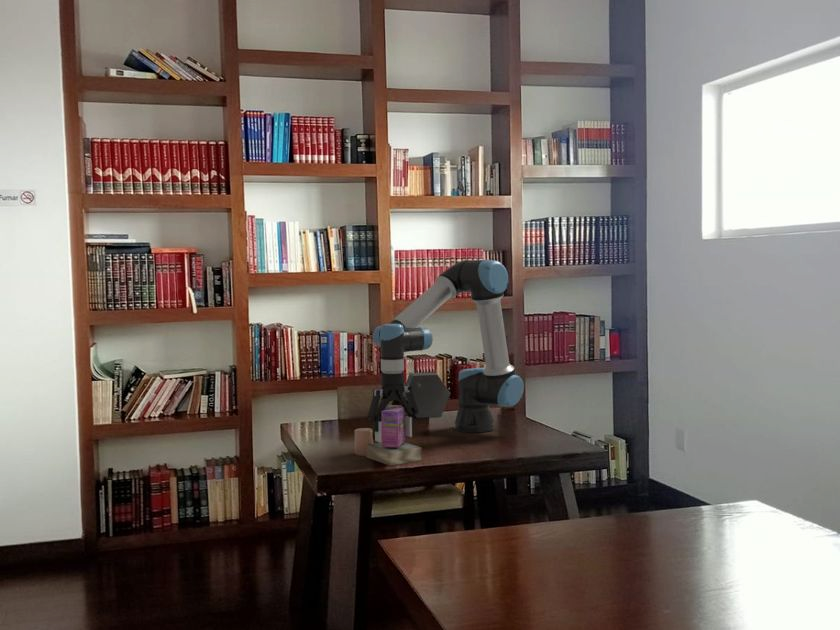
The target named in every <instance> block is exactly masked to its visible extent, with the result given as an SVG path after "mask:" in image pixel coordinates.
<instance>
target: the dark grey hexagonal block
mask: <svg viewBox="0 0 840 630" xmlns="http://www.w3.org/2000/svg"><path fill="white" fill-rule="evenodd" d="M419 384H420V386H419ZM406 385H408V386H412V393H413V396H414V399H415V402H416V405H417V408H418V411H419V413H418V414H415V418H416V419H421V418H422V419H423V418H424V419H425V418H439V417H440V418H441V417H442V416H443V414H444V410H445V408H446V407H447V403H448V401H449V399H450V396H451V392H450V391H449V389H448V388H447V386H446V385H445V384H444V382H443V380H442V379H441V378H440V376H439V374H437V373H436V372H432V371H431V372H409V374H408V376H407V379H406V382H405V383H404V386H406ZM403 396H404V397H405V398H407V397H406V394H405V391H404V392H403Z"/></svg>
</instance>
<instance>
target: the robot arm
mask: <svg viewBox="0 0 840 630" xmlns="http://www.w3.org/2000/svg"><path fill="white" fill-rule="evenodd" d="M508 284H509V273H508V271H507V269H506V267H505V266H504V264H503V263H501V262H500V261H498V260H493V259H492V260H491V259H476V260H475V259H474V260H473V259H472V260H470V259H469V260H468V259H467V260H466V259H465V260H461V261H459V262H457V263H455V264H453V265H451V266H450V267H448V268H446V269H445V270H444V271H443V272H442V273H441V274H439V275H438V276H437V277H436V278H435V280H434V283H433V284H432V285H431V286H430V287H429V288H428V289H426V290H425V291H424V292H423V293H422V294H420V296H418V297H417V298H416V299H415V300H414V301H413V302H412V303H410V304H409V305H408V306H407V307H406V308H405V309H403V310H402V311H401V312H400V313H399V314H398V315H397V316H396V317H395V318H393V319H392V320H390V322H389V323H385V324H381V325H379V326H376V327H375V329H374V330H373V333H372V340H373V342H374V344H375V345H376V346H377V347H380V350H379V351H380V371H381V374H380V383H381V388H380V389H373V390H372V399H371V402H370V407H369V410H368V413H367V417H366V420H369V421H372V429H373V432H374V441H375V442H376V443H381V442H382V428H381V411H384V410H385V408H386V407H387V406H388V404H389V403H390V402H393V401H394V400H398V401H399V403H400V404H401V406H403V407H404V409H405V412H406V414H407V415H408V416H405V437H407V438H408V437H409V438H412V437H413V427H414V418H416V416H415V414H418V413H419V411H418V408H417V405H416V402H415V399H414V396H413V393H412V386H408V385H406V386H405V372H404V371H405V359H404V358H405V353H408V352H409V353H410V352H418V351H420V352H421V351H425V350H429V349H430V348H431V347H432V345H433V334H432V332H431V330H430V329H429V328H427V327H419V326H420V325H422V323H423V322H424V321H425V320H427V319H428V318H429V317H430V316H431V315H433V313H434V312H436V311H437V310H438V309H439V308H440V307H441V306H443V304H444V303H446V302H447V301H448V300H452V299H455V298H456V296H459V294H463V293H464V294H465V293H470V299H471V301H472V302H473V303H475V305H476V309H477V315H478V321H479V329H480V335H481V336H480V337H481V342H482V348H483V355H484V356H483V357H484V361H485V362H484V363H485V367H473V368H466V369H465V368H464V369H462V370H460V371H459V372H458V380H457V383H458V384H457V385H458V411H457V413H456V416H455V417H456V418H455V421H454V425H453V427H454V430H456V431H459V432H463V433H485V432H491V431H493V430H494V429H495V421H494V419H493V415H492V412H491V409H490V405H493V406H499V407H503V408H504V407H508V408H509V407H513V406H515V405H517V404H518V403H519V401H520V400H521V398H522V397H523V393H524V386H525V385H524V381H523V379H522V378H521V376H519V375H518V374H516V370H515V366H514V365H512V364H510V359H509V358H510V357H509V352H508V351H509V350H508V345H507V338H506V330H505V324H504V317H503V310H502V309H503V308H502V303H501V300H502V299H503V297H504V295H505V293H504V292H505V290H506V289H508V288H507V287H508ZM404 391H405V394H406V397H407V400H408V403H409V405H408V403H407V402H406V400H405V397H404V396H403V392H404ZM409 406H410V407H409Z"/></svg>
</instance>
